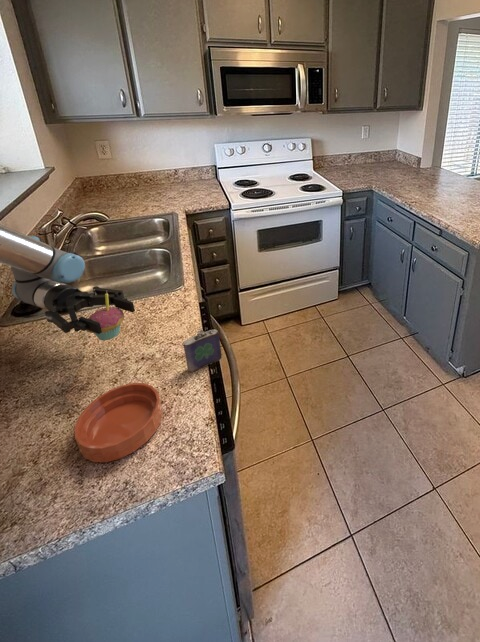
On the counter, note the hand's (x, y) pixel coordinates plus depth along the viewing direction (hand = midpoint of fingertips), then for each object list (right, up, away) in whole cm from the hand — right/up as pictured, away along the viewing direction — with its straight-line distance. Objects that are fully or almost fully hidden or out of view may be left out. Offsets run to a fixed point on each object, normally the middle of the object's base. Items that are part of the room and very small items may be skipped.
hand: (116, 317), depth 88 cm
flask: (+19, -15, +9) cm, 26 cm away
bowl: (+7, -22, -9) cm, 24 cm away
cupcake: (-4, -6, +4) cm, 8 cm away
